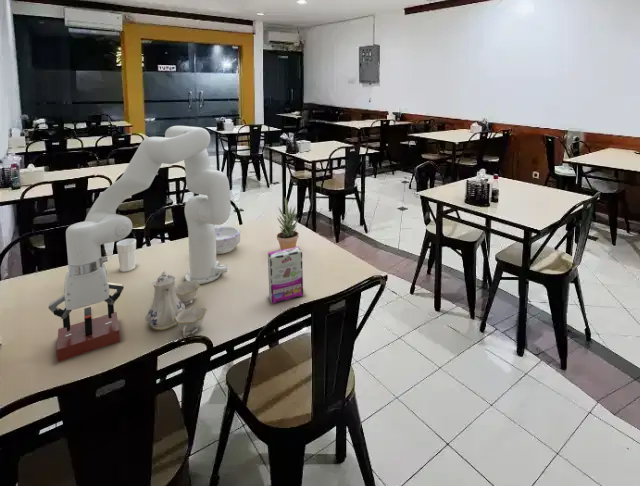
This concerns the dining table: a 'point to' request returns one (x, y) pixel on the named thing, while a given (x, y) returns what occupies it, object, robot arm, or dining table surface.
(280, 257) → the candy bar box
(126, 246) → the cup
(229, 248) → the paper bowls
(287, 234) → the potted plant
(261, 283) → the dining table surface
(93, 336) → the rotary switch block
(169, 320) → the chinaware
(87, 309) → the black rectangular block
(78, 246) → the robot arm
